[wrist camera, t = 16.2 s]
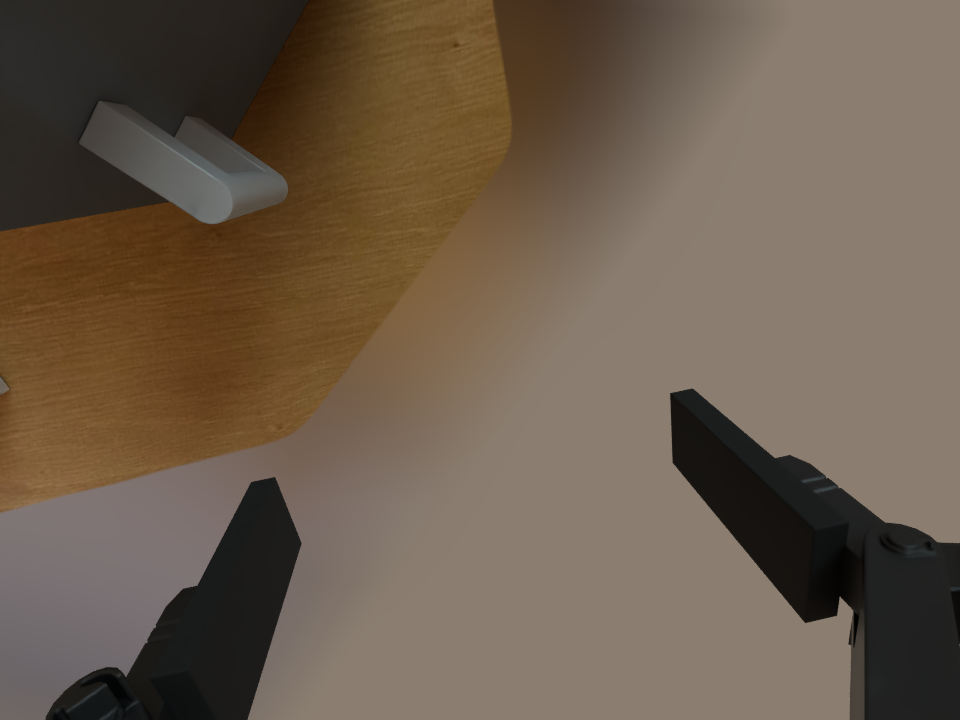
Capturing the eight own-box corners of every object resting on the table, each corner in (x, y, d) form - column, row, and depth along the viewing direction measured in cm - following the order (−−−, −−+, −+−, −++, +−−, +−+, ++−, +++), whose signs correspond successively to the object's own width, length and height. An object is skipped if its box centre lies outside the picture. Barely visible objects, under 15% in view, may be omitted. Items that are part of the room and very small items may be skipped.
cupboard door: (460, -55, 33) (541, -470, 11) (274, 246, 39) (84, 361, 17) (368, -145, 31) (245, -873, 9) (185, 188, 37) (-165, 233, 15)
